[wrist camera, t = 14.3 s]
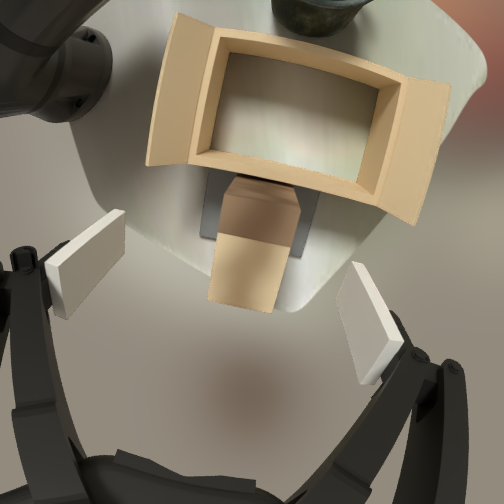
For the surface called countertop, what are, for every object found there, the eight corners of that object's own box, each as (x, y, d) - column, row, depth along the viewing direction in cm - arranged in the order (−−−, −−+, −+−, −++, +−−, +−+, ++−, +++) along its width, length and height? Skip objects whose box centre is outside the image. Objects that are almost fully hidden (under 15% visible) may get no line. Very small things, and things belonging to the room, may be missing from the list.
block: (227, 241, 39) (207, 300, 26) (241, 167, 35) (223, 194, 22) (272, 250, 39) (271, 313, 26) (290, 178, 35) (301, 210, 22)
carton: (180, 152, 35) (144, 165, 25) (202, 42, 29) (174, 12, 18) (378, 197, 36) (416, 227, 25) (405, 92, 29) (452, 85, 19)
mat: (200, 233, 40) (199, 235, 39) (211, 161, 35) (210, 162, 35) (300, 254, 40) (301, 256, 39) (320, 184, 36) (321, 185, 35)
